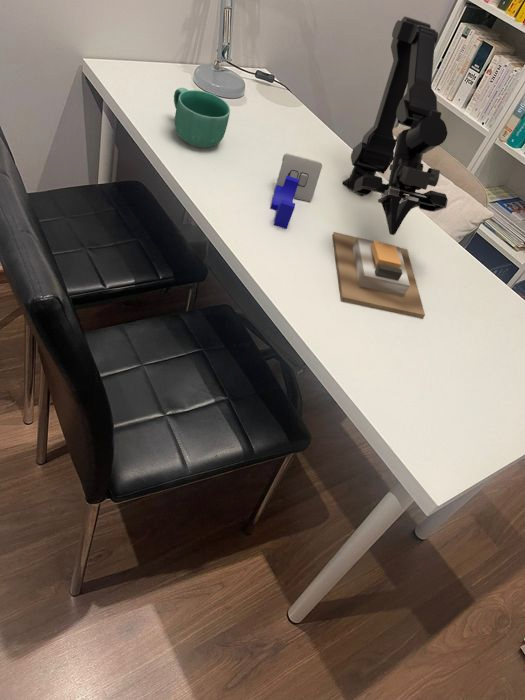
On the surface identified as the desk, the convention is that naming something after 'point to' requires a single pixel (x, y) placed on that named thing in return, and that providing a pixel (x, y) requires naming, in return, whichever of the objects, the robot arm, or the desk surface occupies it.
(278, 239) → the desk surface
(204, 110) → the mug
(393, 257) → the orange wedge plank
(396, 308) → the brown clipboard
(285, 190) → the cable clip
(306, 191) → the electrical switch
